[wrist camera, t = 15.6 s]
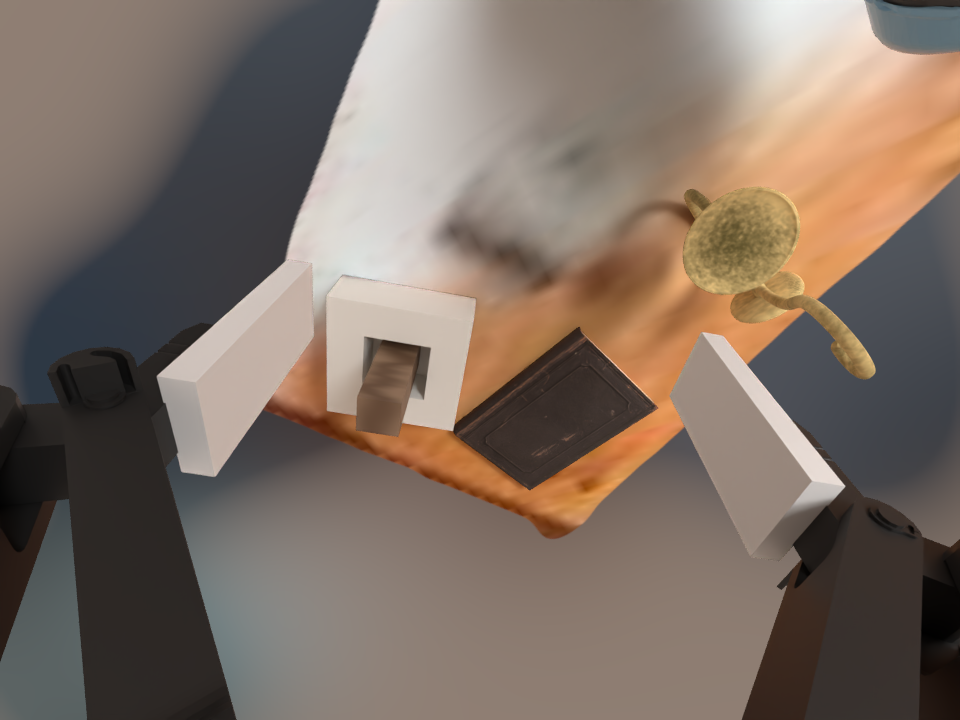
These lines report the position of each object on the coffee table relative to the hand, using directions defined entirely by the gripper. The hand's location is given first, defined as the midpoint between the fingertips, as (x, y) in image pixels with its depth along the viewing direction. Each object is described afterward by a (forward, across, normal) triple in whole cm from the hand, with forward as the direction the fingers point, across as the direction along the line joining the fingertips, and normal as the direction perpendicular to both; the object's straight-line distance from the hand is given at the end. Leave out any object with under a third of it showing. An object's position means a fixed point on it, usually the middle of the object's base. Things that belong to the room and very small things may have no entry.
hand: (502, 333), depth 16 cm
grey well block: (+36, -8, -24) cm, 44 cm away
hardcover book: (+37, +13, -31) cm, 50 cm away
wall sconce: (+37, +23, -3) cm, 44 cm away
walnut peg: (+36, -8, -24) cm, 44 cm away
